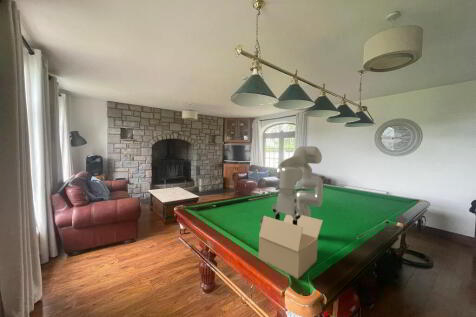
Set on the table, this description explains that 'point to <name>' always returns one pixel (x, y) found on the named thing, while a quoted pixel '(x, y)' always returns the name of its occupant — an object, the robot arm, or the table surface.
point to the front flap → (281, 233)
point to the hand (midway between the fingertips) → (285, 224)
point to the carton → (289, 255)
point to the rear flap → (306, 224)
